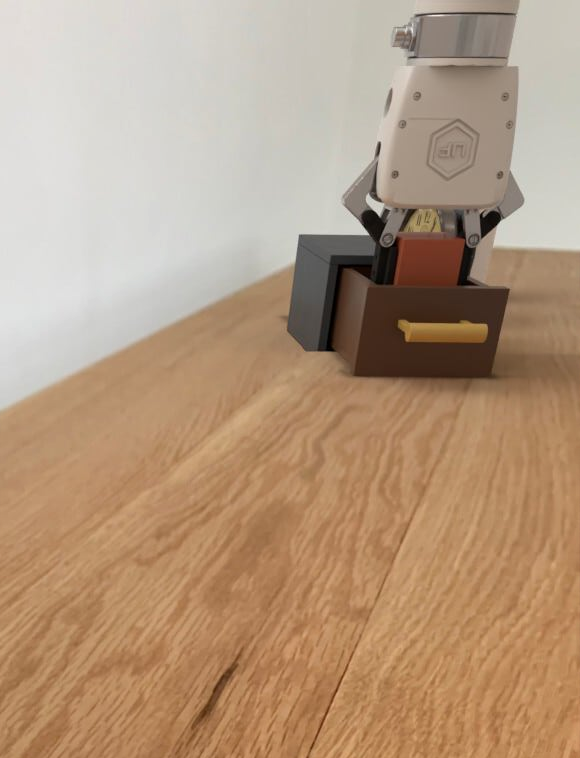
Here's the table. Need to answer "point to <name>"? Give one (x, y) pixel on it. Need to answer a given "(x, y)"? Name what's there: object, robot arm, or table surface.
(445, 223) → the alarm clock
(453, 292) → the drawer
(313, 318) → the cabinet
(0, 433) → the table surface
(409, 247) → the block
